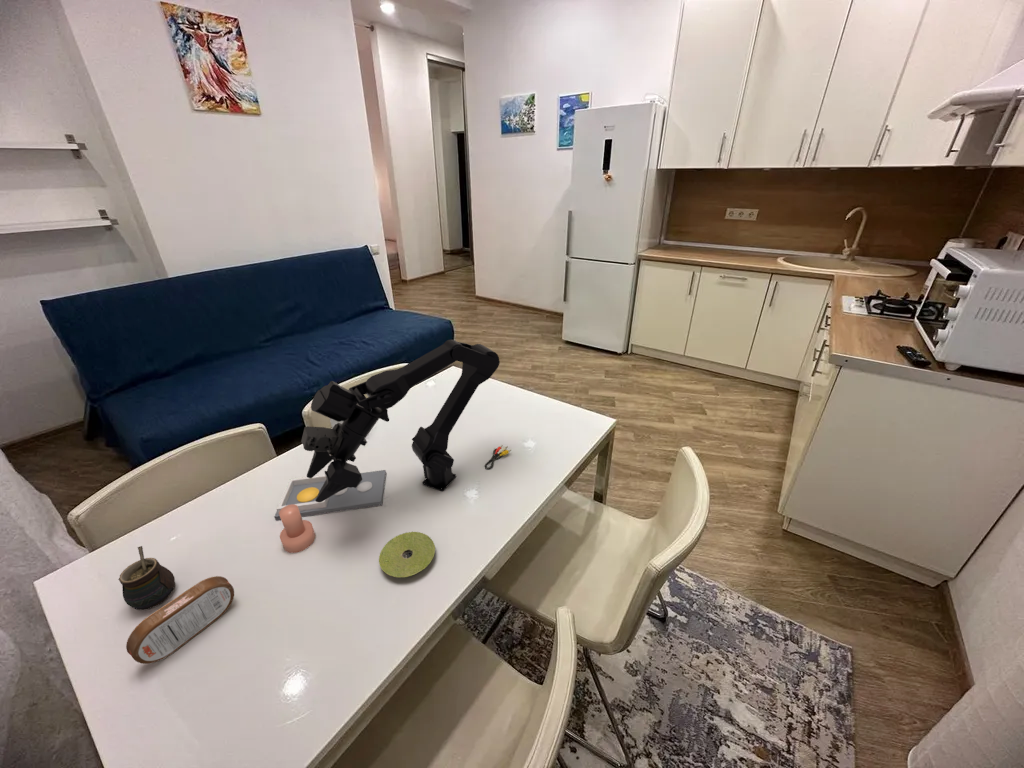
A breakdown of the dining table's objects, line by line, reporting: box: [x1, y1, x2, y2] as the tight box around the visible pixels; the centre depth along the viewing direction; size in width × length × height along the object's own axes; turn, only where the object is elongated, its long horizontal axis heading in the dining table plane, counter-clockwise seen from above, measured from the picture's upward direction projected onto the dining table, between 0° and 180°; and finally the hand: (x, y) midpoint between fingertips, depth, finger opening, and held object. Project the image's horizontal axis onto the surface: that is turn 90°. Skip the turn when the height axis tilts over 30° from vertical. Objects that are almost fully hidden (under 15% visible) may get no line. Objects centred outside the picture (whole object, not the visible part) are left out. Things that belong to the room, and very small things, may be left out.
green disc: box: [378, 531, 436, 578], centre depth 84 cm, size 11×11×2 cm
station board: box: [273, 469, 387, 521], centre depth 101 cm, size 24×12×3 cm, turn 101°
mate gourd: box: [117, 545, 176, 611], centre depth 75 cm, size 7×8×10 cm
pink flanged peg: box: [279, 504, 317, 554], centre depth 87 cm, size 6×6×9 cm
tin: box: [125, 575, 235, 665], centre depth 70 cm, size 15×3×8 cm, turn 147°
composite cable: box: [483, 444, 512, 470], centre depth 113 cm, size 10×5×2 cm, turn 141°
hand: (312, 489), depth 86 cm, fingers open, 9 cm apart
